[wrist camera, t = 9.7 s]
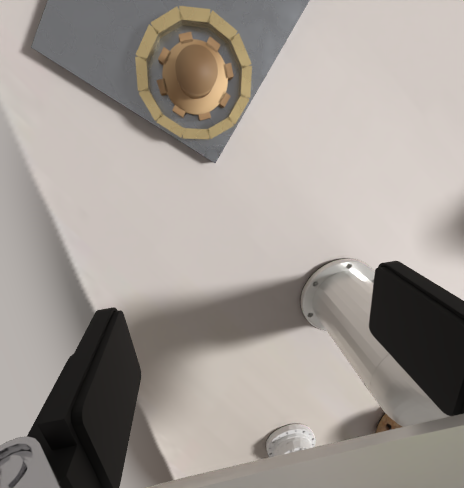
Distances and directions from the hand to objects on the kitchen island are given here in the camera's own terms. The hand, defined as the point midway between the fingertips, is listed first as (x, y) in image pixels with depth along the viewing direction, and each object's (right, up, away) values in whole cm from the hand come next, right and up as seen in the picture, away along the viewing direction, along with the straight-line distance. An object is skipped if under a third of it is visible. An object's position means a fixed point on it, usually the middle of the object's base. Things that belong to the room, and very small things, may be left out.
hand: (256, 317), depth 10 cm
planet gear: (-5, +20, +18) cm, 27 cm away
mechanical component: (+11, -37, +46) cm, 60 cm away
